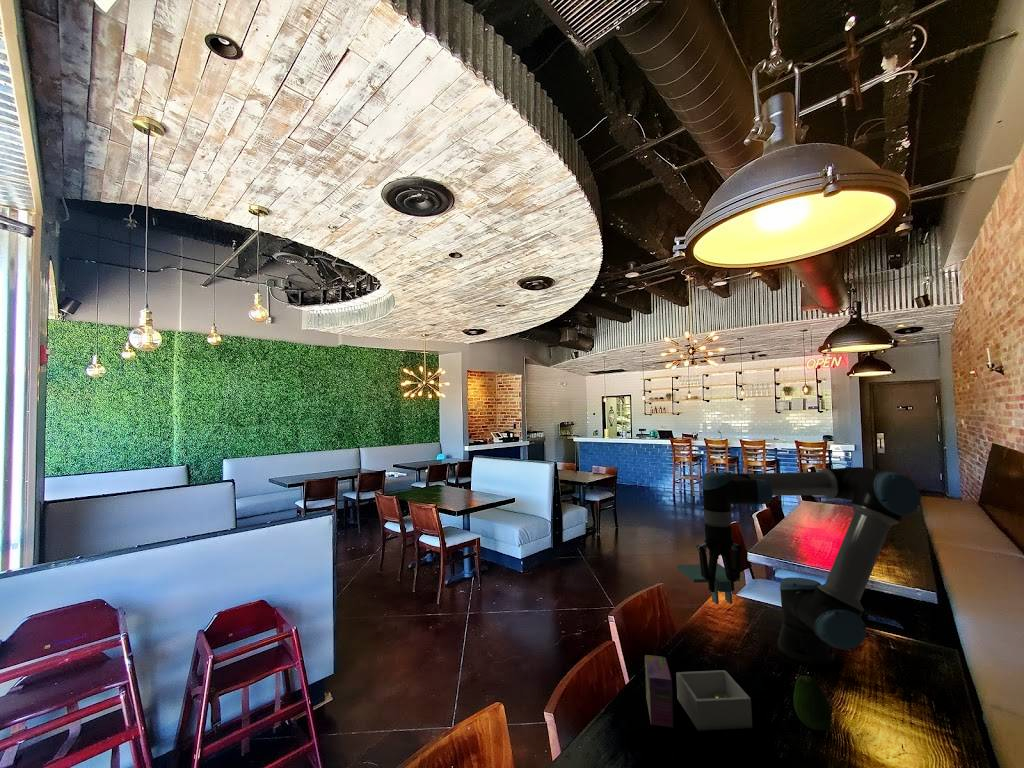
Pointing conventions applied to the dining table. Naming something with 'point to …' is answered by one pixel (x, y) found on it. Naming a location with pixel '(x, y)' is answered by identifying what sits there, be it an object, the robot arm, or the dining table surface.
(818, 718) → the avocado
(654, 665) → the box
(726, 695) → the brass roller
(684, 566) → the lid
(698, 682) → the tub
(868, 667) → the dining table surface
